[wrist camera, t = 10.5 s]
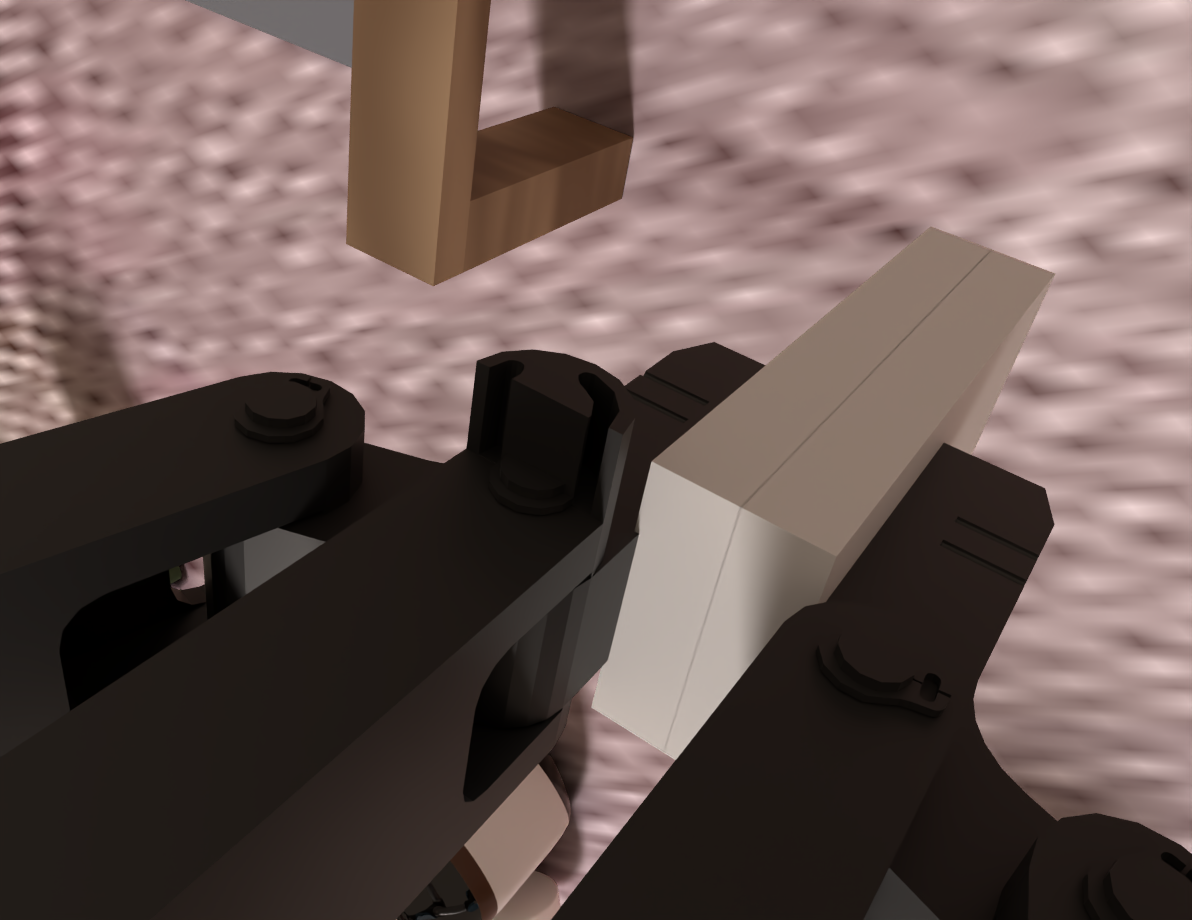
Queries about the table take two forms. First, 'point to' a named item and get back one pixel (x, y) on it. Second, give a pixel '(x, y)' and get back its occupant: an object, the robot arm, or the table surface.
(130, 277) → the table surface
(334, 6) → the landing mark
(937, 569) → the robot arm
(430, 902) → the spread jar
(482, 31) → the bridge
